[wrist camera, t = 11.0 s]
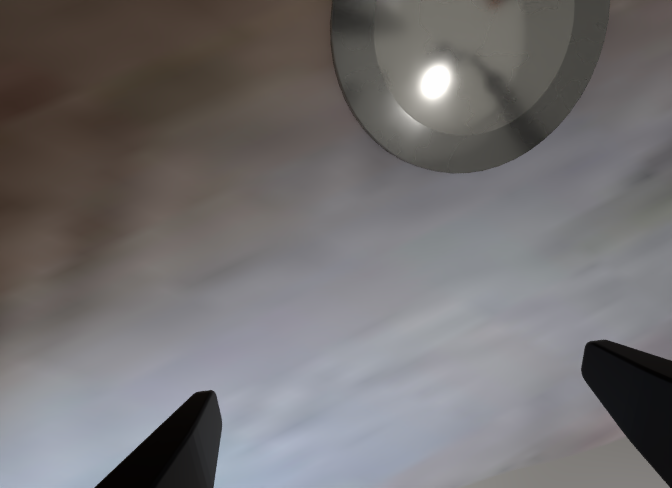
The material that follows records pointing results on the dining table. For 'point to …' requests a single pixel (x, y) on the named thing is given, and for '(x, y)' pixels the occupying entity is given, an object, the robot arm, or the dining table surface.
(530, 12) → the flange plate
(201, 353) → the dining table surface
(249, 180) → the dining table surface
